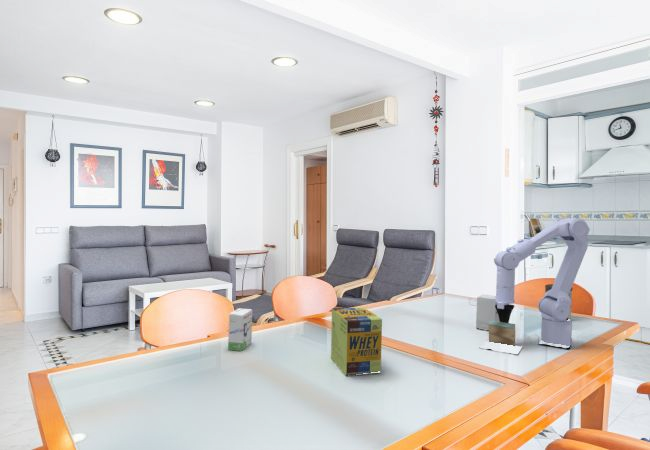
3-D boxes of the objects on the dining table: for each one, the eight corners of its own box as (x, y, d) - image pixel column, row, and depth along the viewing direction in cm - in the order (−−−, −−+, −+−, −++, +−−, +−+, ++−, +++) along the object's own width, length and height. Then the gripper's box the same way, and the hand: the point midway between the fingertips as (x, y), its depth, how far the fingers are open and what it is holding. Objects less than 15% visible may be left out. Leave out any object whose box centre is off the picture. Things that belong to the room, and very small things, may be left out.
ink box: (237, 342, 148) (238, 307, 147) (252, 343, 147) (252, 308, 146) (227, 350, 139) (227, 313, 139) (242, 351, 138) (242, 314, 138)
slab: (515, 342, 148) (515, 324, 147) (513, 347, 146) (513, 328, 144) (490, 338, 153) (490, 320, 151) (488, 342, 150) (488, 324, 149)
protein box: (346, 377, 119) (347, 320, 118) (330, 358, 134) (331, 307, 133) (381, 373, 122) (383, 318, 121) (362, 355, 136) (363, 306, 136)
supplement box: (495, 332, 165) (496, 299, 164) (475, 329, 169) (476, 296, 168) (500, 328, 170) (501, 296, 170) (481, 325, 175) (482, 293, 174)
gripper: (497, 282, 158) (496, 319, 158) (488, 288, 145) (486, 328, 146) (518, 284, 154) (517, 322, 154) (510, 290, 142) (509, 332, 142)
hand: (504, 325), depth 150 cm, fingers closed
